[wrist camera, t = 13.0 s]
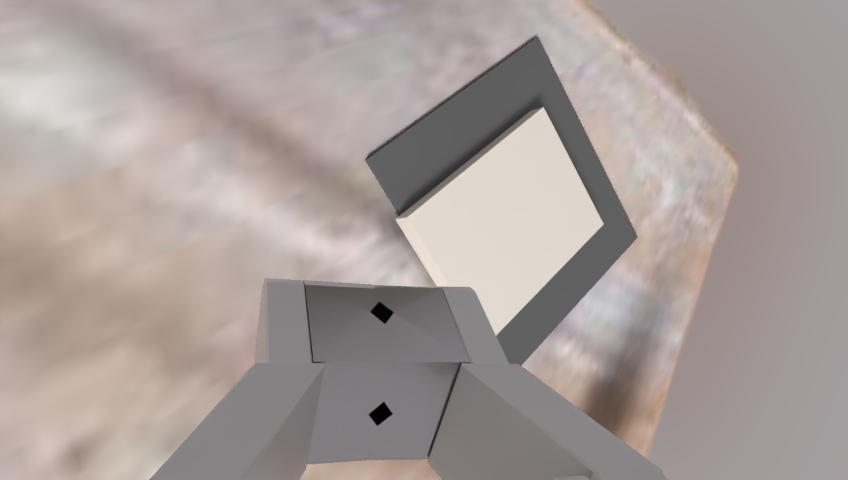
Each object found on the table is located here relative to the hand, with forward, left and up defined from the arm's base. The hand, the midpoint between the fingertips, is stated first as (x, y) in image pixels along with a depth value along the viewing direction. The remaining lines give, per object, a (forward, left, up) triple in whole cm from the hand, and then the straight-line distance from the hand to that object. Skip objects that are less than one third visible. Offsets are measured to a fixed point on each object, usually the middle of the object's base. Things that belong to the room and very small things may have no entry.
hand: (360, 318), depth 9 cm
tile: (+11, +15, -25) cm, 31 cm away
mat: (+11, +24, -26) cm, 37 cm away
